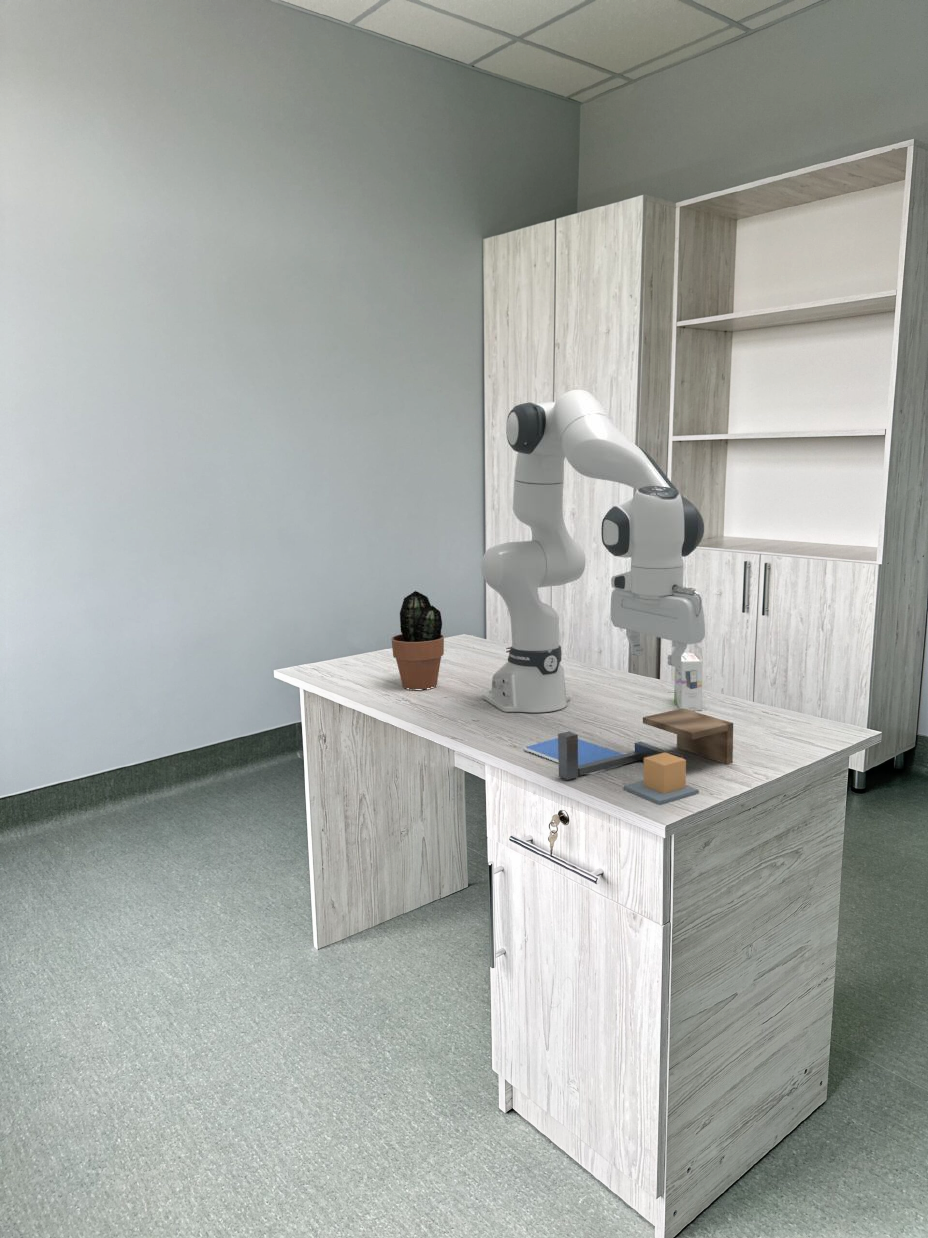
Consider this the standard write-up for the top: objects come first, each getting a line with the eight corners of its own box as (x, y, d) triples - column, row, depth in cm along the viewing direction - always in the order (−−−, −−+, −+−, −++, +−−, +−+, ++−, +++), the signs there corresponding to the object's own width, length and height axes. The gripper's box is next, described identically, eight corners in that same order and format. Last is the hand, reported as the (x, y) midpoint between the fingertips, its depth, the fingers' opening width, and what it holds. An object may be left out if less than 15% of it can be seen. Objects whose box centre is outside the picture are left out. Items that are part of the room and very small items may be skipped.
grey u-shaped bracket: (558, 776, 163) (558, 733, 162) (638, 755, 173) (638, 715, 172) (600, 795, 154) (600, 750, 152) (682, 772, 163) (683, 729, 162)
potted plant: (388, 693, 229) (384, 596, 225) (399, 680, 243) (394, 588, 238) (441, 693, 227) (438, 595, 223) (449, 680, 241) (445, 587, 237)
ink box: (673, 701, 212) (673, 640, 210) (694, 701, 212) (694, 639, 210) (680, 711, 204) (681, 647, 201) (702, 711, 204) (703, 647, 201)
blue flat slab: (637, 763, 172) (637, 756, 172) (589, 778, 165) (589, 771, 164) (568, 740, 187) (567, 734, 187) (521, 753, 180) (521, 747, 180)
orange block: (643, 785, 157) (643, 758, 156) (664, 779, 159) (665, 752, 158) (664, 793, 152) (664, 765, 152) (685, 787, 155) (685, 759, 154)
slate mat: (623, 789, 157) (623, 785, 157) (661, 778, 161) (661, 775, 161) (659, 804, 149) (659, 801, 149) (698, 793, 154) (698, 789, 154)
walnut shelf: (642, 755, 174) (642, 717, 173) (682, 745, 180) (682, 708, 178) (692, 774, 163) (692, 733, 162) (732, 762, 169) (733, 723, 167)
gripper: (715, 587, 148) (712, 669, 150) (631, 573, 165) (630, 647, 168) (686, 591, 144) (684, 675, 147) (604, 576, 162) (604, 651, 164)
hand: (655, 660), depth 157 cm, fingers open, 8 cm apart
